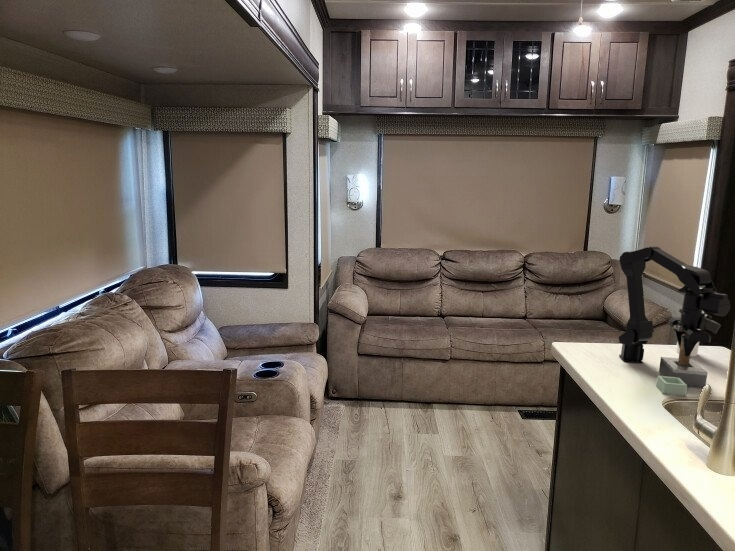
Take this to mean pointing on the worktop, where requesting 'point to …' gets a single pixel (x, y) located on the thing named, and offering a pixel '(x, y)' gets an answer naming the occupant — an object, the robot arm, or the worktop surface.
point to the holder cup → (671, 385)
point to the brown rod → (683, 357)
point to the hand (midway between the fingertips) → (684, 354)
